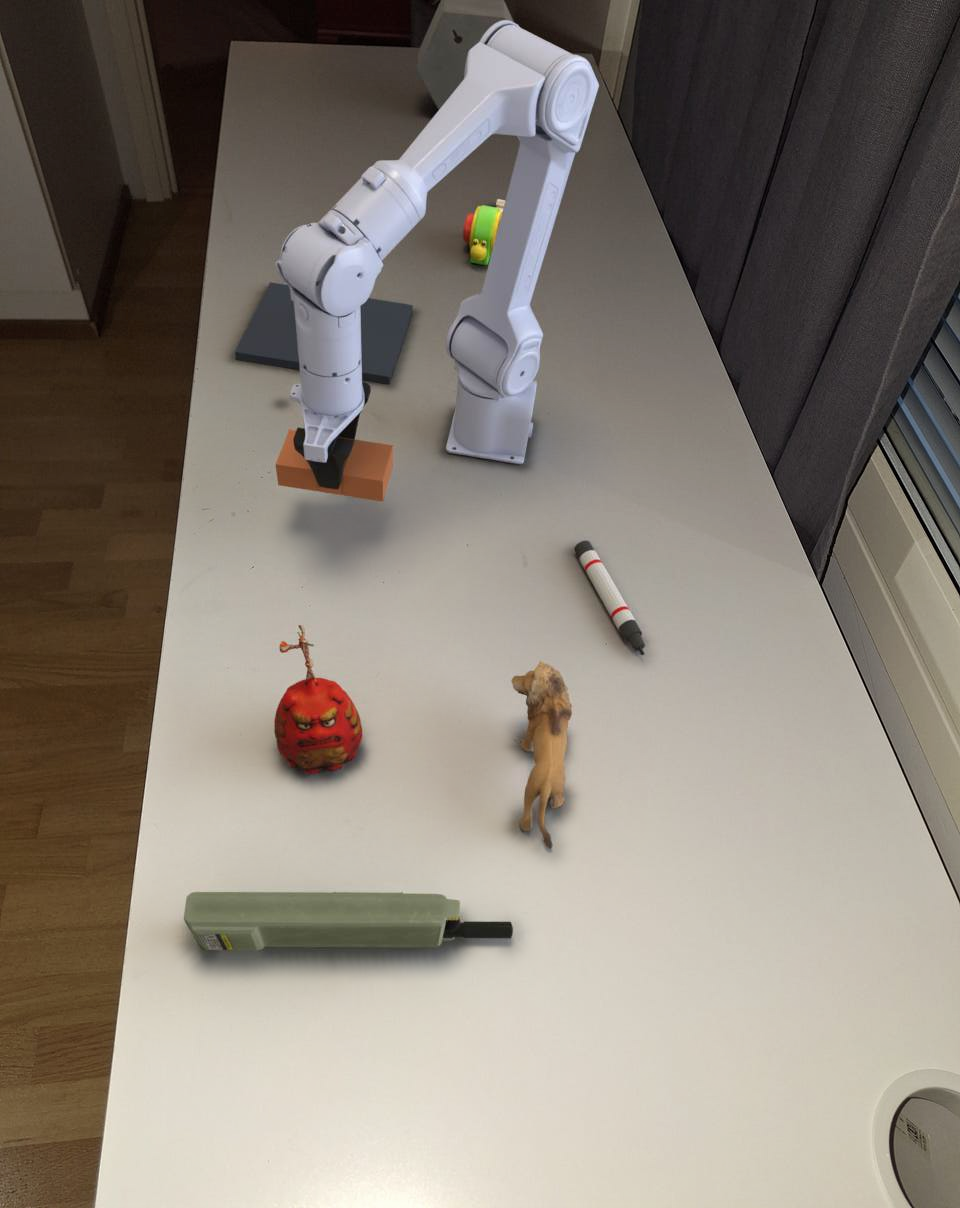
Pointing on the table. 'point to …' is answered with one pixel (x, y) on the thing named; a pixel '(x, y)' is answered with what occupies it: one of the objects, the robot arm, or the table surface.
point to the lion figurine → (544, 740)
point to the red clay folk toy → (316, 721)
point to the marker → (610, 595)
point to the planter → (441, 61)
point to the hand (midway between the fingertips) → (336, 465)
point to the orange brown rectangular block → (360, 473)
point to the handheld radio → (329, 920)
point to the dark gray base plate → (277, 336)
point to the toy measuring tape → (482, 231)
